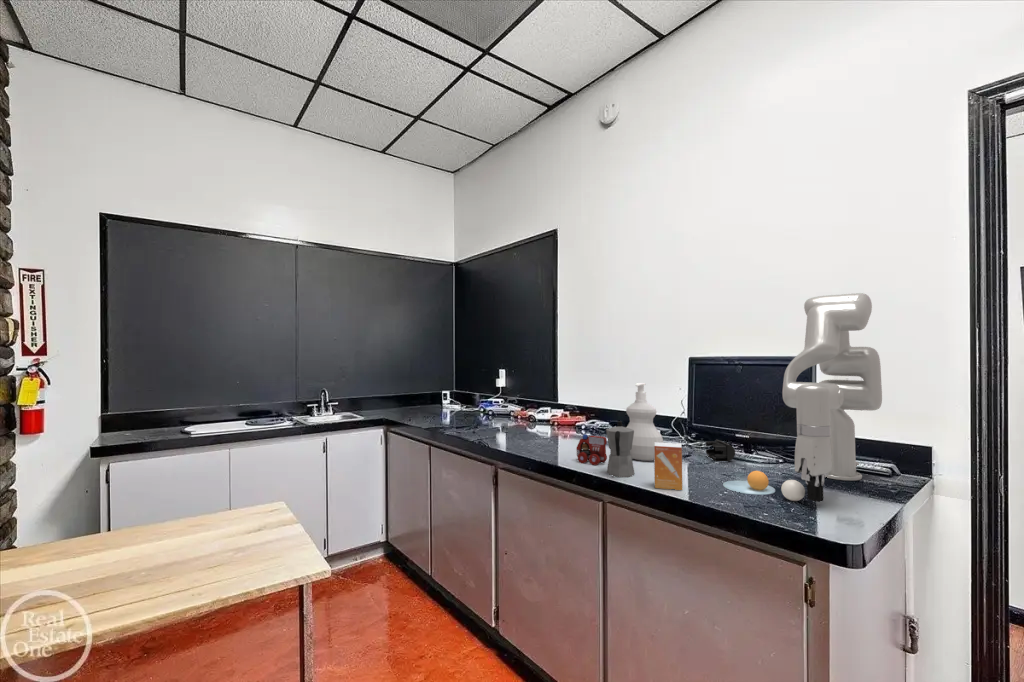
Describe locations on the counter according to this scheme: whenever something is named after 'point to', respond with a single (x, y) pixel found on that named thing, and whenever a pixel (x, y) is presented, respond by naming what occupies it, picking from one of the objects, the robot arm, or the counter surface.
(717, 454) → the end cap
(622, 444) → the coffeepot
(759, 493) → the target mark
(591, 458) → the toy fire truck
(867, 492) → the counter surface
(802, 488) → the white egg
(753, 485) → the object ball
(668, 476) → the small box
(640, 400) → the soap bottle
